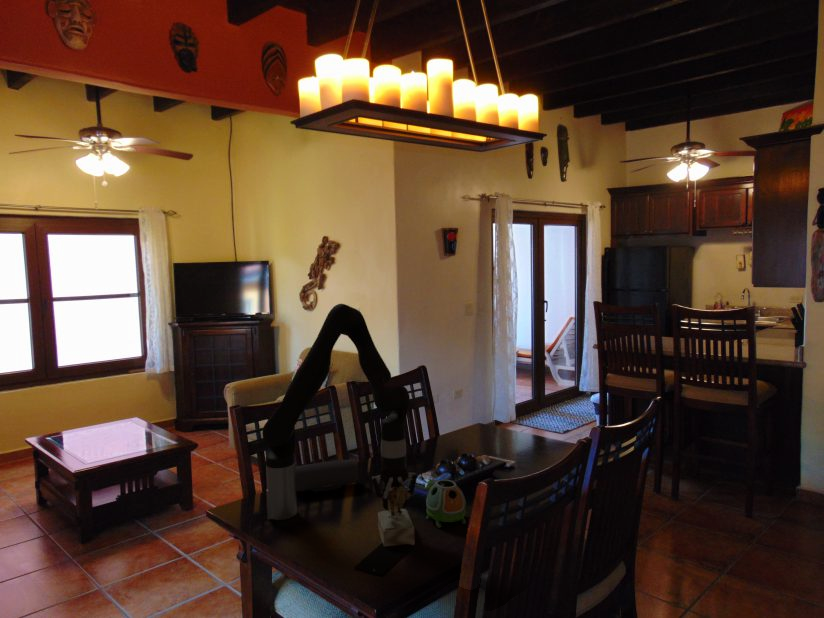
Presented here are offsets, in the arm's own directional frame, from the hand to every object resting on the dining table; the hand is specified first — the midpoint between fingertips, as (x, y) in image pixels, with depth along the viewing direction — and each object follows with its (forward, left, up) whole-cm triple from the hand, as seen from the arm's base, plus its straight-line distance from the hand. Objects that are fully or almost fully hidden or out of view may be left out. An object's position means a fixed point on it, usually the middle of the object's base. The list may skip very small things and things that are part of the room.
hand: (395, 508), depth 174 cm
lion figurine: (0, +1, -1) cm, 1 cm away
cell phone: (-5, -12, -9) cm, 16 cm away
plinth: (0, 0, -9) cm, 9 cm away
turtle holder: (+17, +9, -9) cm, 21 cm away
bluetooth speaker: (-19, +43, -9) cm, 48 cm away
